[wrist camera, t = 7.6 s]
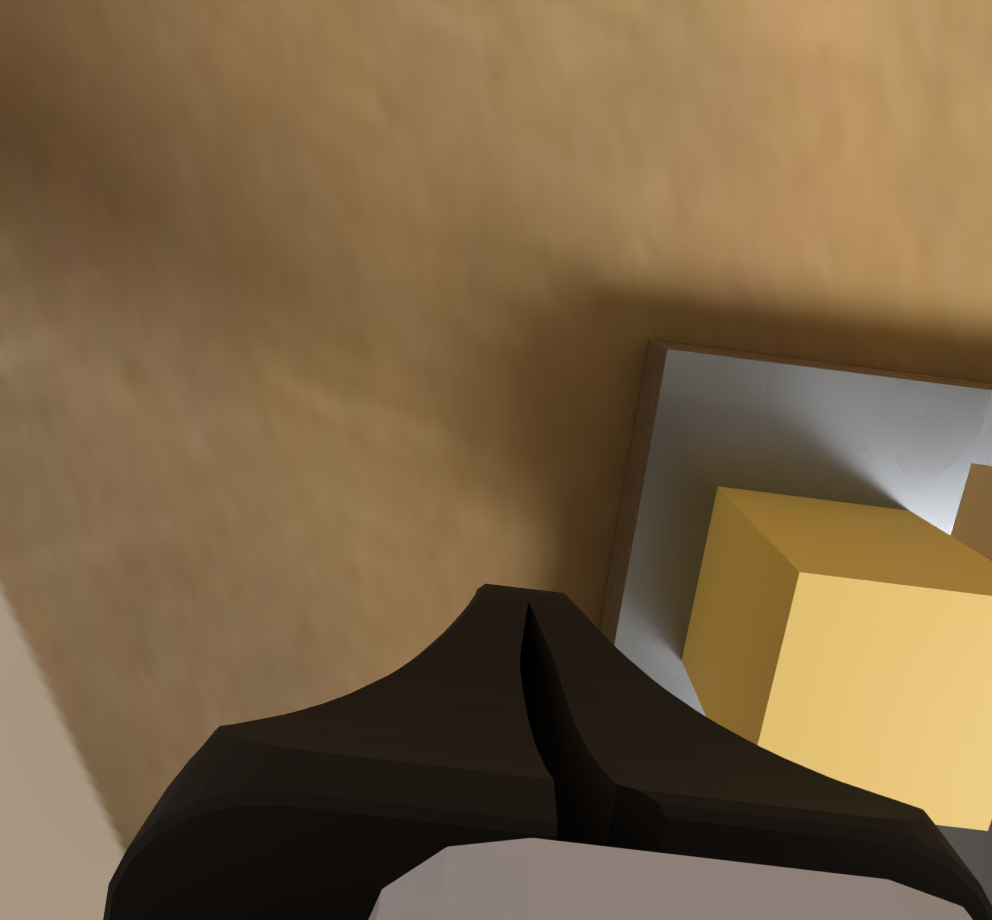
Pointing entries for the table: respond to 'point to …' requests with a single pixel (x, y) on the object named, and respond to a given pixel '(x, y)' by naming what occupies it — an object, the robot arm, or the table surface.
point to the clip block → (850, 647)
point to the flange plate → (769, 468)
